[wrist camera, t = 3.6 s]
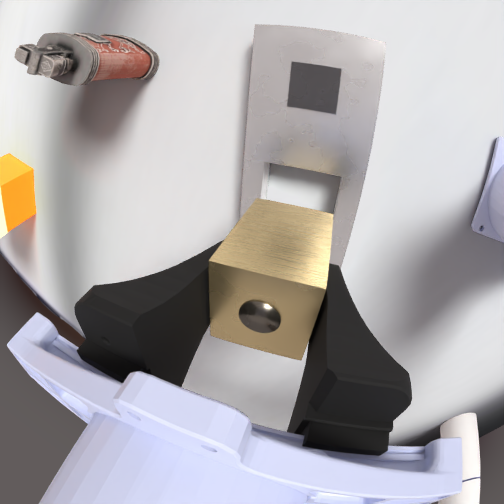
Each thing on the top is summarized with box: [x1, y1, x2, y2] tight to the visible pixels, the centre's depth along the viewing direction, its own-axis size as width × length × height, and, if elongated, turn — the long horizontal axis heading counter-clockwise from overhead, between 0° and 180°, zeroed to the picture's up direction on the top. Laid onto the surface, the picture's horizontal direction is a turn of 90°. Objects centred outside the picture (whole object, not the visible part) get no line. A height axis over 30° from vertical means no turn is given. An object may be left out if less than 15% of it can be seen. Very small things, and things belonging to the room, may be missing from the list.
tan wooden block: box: [209, 198, 333, 360], centre depth 13 cm, size 4×4×6 cm
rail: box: [240, 25, 386, 269], centre depth 19 cm, size 8×24×2 cm, turn 175°
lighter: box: [15, 33, 159, 86], centre depth 13 cm, size 8×3×10 cm, turn 58°
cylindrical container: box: [438, 413, 480, 504], centre depth 20 cm, size 7×7×25 cm
